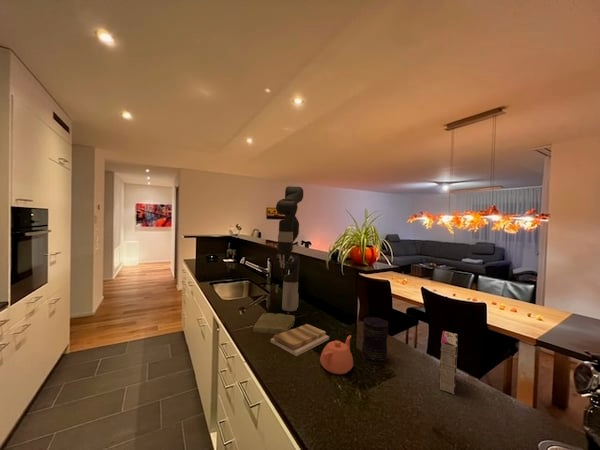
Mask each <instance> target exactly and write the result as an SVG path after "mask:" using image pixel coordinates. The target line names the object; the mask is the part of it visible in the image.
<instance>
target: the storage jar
mask: <svg viewBox="0 0 600 450" xmlns="http://www.w3.org/2000/svg"><path fill="white" fill-rule="evenodd" d="M362 329H363V330H362V332H363V333H362V334H363V340H362V345H361V351H362V352H361V356H362V358H363V360H364V361H366V362H368V363H370V364H373V365H374V364H375V365H383V364H385V363H386V362H387V355H388V346H387V344H388V341H387V340H388V337H389V322H388V320H385V319H383V318H380V317H377V316H376V317H375V316H367V317H365V318H364V319H363V328H362Z"/></svg>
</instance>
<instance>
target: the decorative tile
mask: <svg viewBox="0 0 600 450" xmlns="http://www.w3.org/2000/svg"><path fill="white" fill-rule="evenodd" d="M295 318H296V317H295V314H294V315H291V314H284V313H273V312H263V313H262V314H261V316H260V317H259V318H258V320H257V321H256V323H255V324H254V326H253V328H252V331H253V333H261V334H270V335H271V334H274V335H277V334H280V333H283V332H286V331H289V330H292V328H293V327H294V325H295V321H296V319H295ZM291 327H292V328H291Z"/></svg>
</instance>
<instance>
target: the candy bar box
mask: <svg viewBox="0 0 600 450" xmlns="http://www.w3.org/2000/svg"><path fill="white" fill-rule="evenodd" d="M458 339H459V337H458V334H457V333H455V332H450V331H446V330H443V331H442V334H441V340H440V353H439V355H440V357H439V360H440V361H439V379H438V381H439V383H438V384H439V385H438V390H439V391H442V392H445V393H449V394H452V395H456V387H457V386H456V385H457V382H456V381H457V366H458V365H457V361H458V342H459V341H458Z"/></svg>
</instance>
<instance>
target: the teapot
mask: <svg viewBox="0 0 600 450" xmlns="http://www.w3.org/2000/svg"><path fill="white" fill-rule="evenodd" d="M351 338H352V335H351V334H349V335H348V336H347V338H346V340H345V342H342V341H340V340H332V341H330V342H328V343H327V344H326V345H325V346H324V348H323V349H322V351H321V354H320V358H319V359H320V360H319V361H320V364H321V366H322V367H323V369H324V370H326V371H327V372H329V373H331V374H334V375H345V374H347V373H349V372H350V371H351V370H352V368H353V367H354V358H353V357H354V356H353V355H352V352H351V341H350V340H351Z"/></svg>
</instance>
